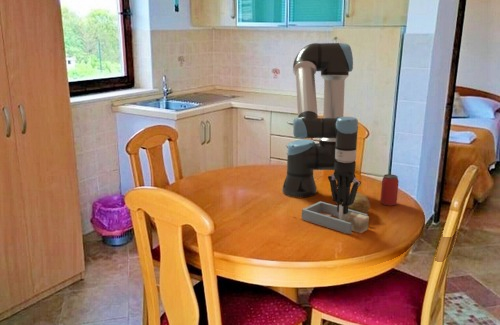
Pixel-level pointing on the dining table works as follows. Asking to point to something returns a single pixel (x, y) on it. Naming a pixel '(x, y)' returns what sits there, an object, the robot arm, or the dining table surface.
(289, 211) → the dining table surface
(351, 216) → the block
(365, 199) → the potato
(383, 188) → the beer can
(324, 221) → the u-shaped frame
